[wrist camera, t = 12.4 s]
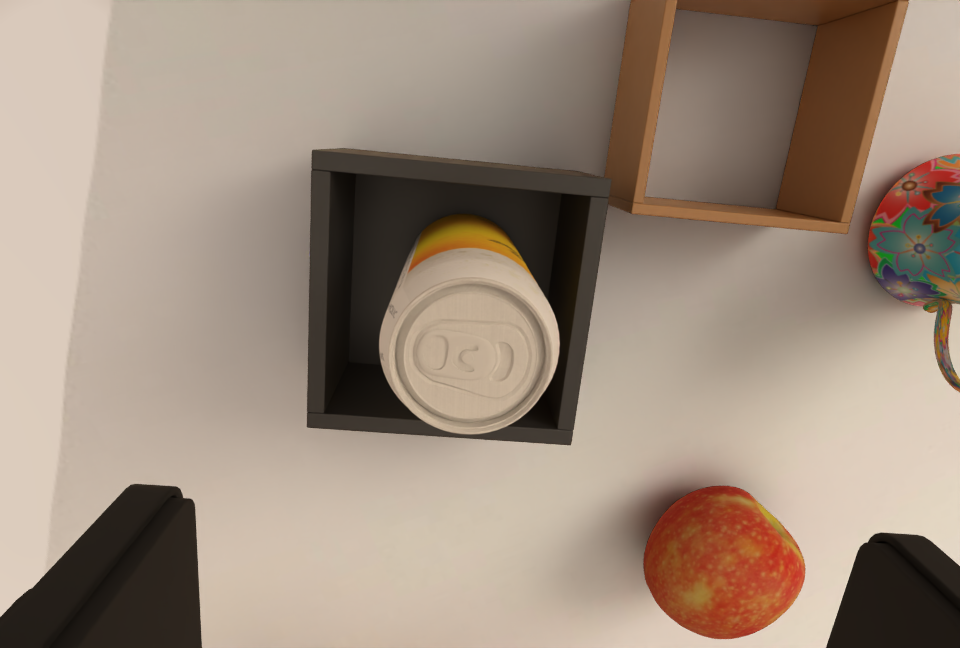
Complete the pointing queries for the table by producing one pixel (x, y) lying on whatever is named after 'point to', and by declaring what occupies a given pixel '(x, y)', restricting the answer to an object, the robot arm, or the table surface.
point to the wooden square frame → (820, 120)
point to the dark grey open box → (383, 253)
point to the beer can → (468, 329)
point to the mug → (922, 246)
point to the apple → (722, 564)
